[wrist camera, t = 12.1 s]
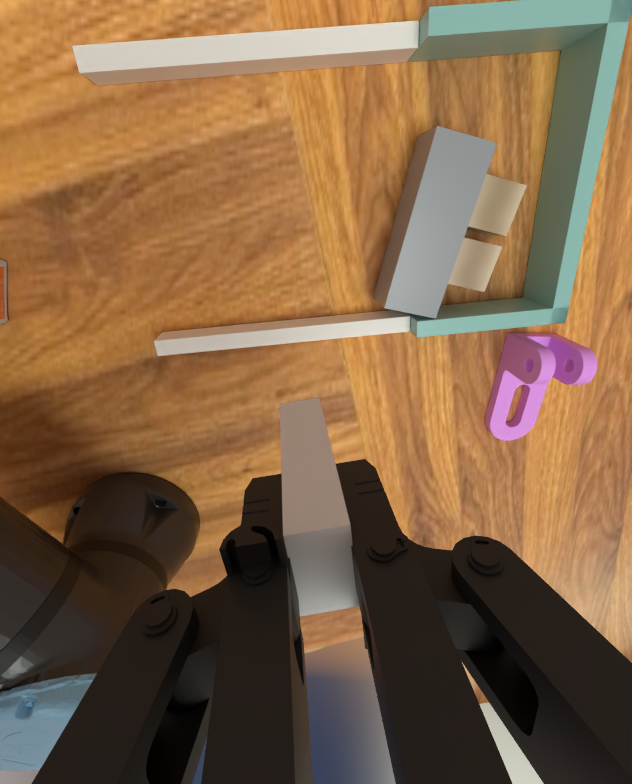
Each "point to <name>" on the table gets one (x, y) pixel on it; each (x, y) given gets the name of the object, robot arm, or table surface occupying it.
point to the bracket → (533, 378)
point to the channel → (252, 58)
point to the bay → (564, 143)
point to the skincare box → (3, 292)
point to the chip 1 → (496, 206)
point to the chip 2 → (474, 264)
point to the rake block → (432, 219)
